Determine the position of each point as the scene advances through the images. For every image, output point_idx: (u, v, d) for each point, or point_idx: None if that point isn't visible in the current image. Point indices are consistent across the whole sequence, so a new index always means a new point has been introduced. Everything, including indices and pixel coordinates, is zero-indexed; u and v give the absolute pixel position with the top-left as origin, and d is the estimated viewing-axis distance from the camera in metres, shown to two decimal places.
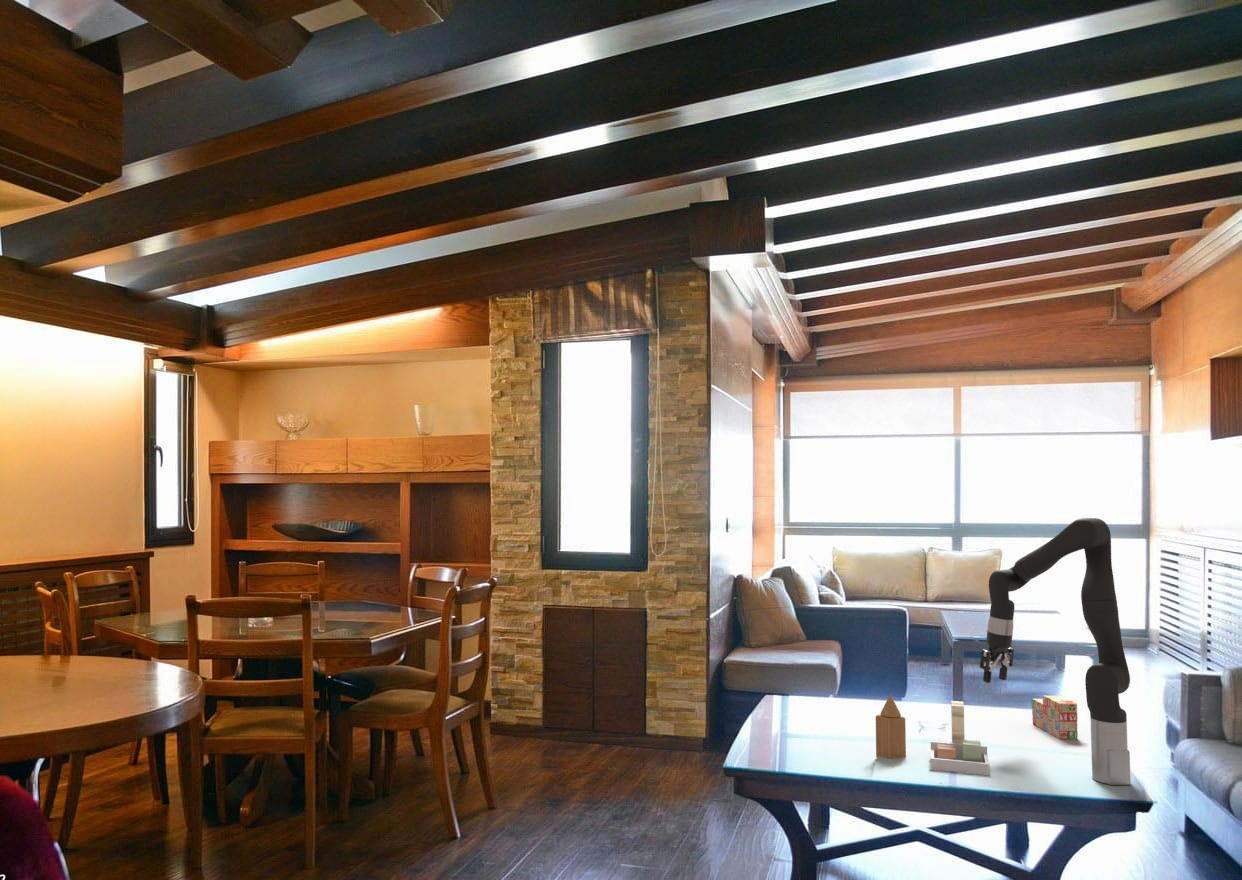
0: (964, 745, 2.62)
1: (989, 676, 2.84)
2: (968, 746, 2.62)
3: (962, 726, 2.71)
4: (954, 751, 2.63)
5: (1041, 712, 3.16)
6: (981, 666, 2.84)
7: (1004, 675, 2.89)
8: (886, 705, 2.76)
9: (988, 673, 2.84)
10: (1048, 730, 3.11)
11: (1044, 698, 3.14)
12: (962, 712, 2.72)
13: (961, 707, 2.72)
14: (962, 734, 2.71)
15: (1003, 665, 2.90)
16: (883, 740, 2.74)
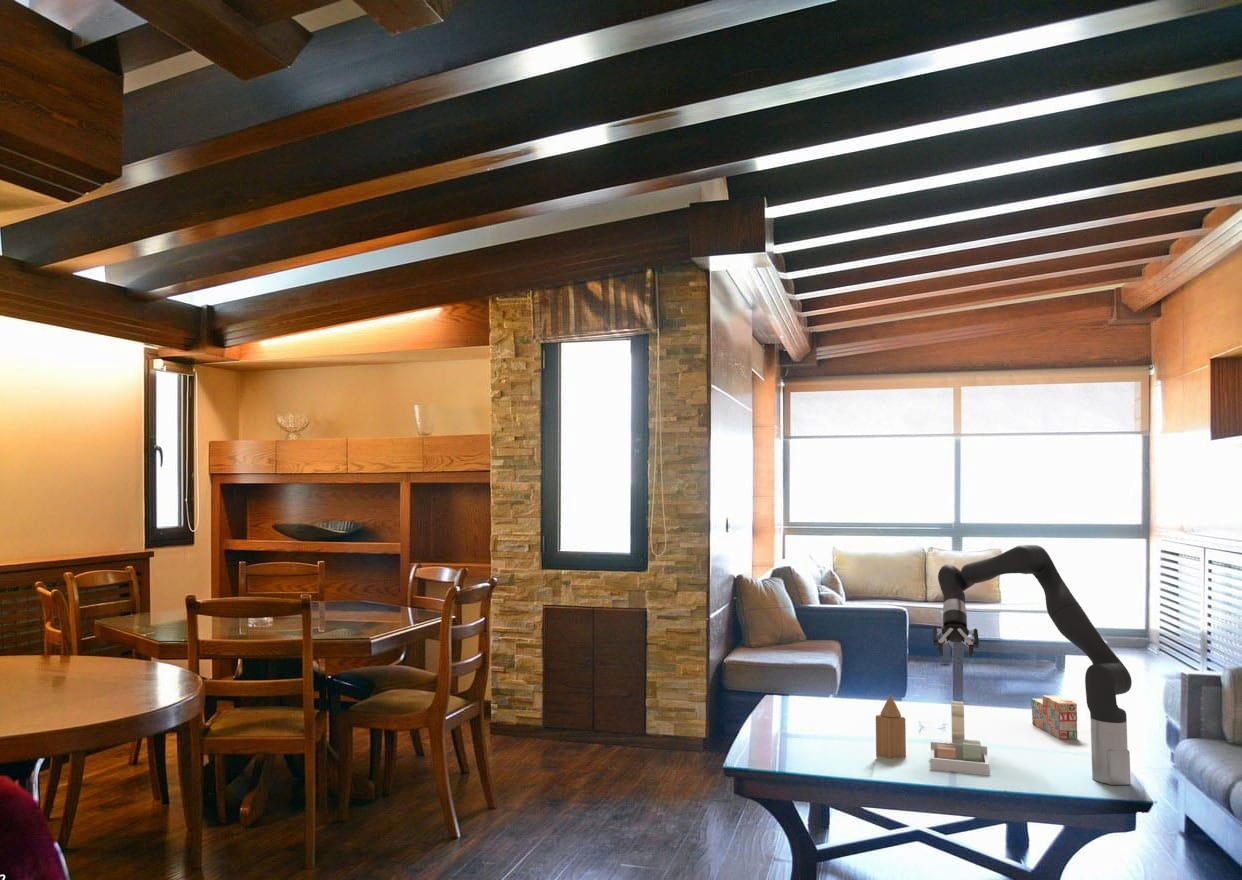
0: (964, 745, 2.62)
1: (940, 647, 2.90)
2: (968, 746, 2.62)
3: (962, 726, 2.71)
4: (954, 751, 2.63)
5: (1041, 712, 3.16)
6: (932, 642, 2.94)
7: None
8: (886, 705, 2.76)
9: (939, 645, 2.91)
10: (1048, 730, 3.11)
11: (1044, 698, 3.14)
12: (962, 712, 2.72)
13: (961, 707, 2.72)
14: (962, 734, 2.71)
15: None
16: (883, 740, 2.74)
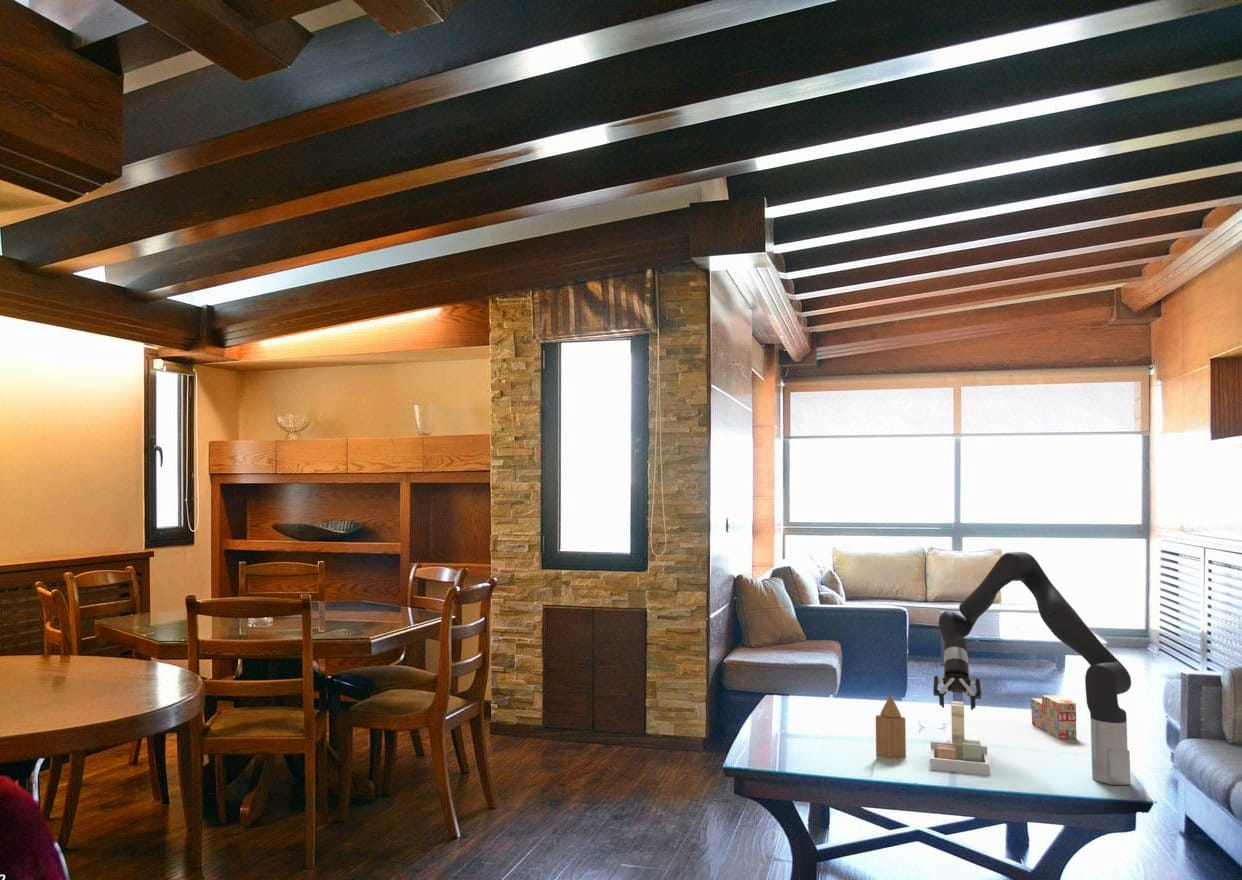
0: (964, 745, 2.62)
1: (941, 698, 2.82)
2: (968, 746, 2.62)
3: (962, 726, 2.71)
4: (954, 751, 2.63)
5: (1040, 711, 3.16)
6: (933, 692, 2.86)
7: (970, 702, 2.79)
8: (886, 705, 2.76)
9: (940, 696, 2.83)
10: (1047, 730, 3.11)
11: (1043, 698, 3.14)
12: (962, 712, 2.72)
13: (961, 707, 2.72)
14: (962, 734, 2.71)
15: None
16: (883, 740, 2.74)
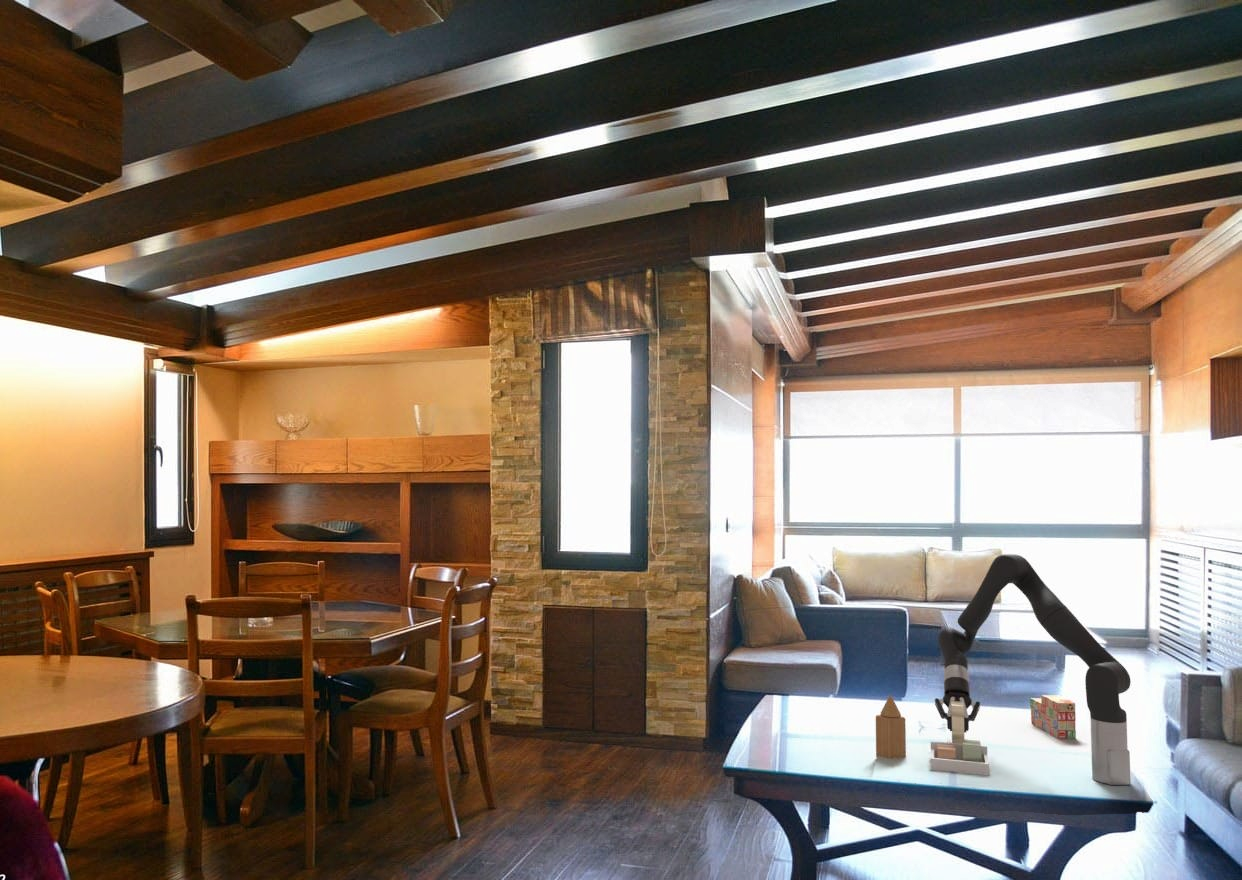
0: (964, 745, 2.62)
1: (949, 722, 2.75)
2: (968, 746, 2.62)
3: (962, 726, 2.71)
4: (954, 751, 2.63)
5: (1040, 711, 3.17)
6: (941, 716, 2.78)
7: None
8: (886, 705, 2.76)
9: (948, 719, 2.76)
10: (1046, 729, 3.11)
11: (1042, 698, 3.14)
12: (962, 712, 2.72)
13: (961, 707, 2.72)
14: (962, 734, 2.71)
15: None
16: (883, 740, 2.74)
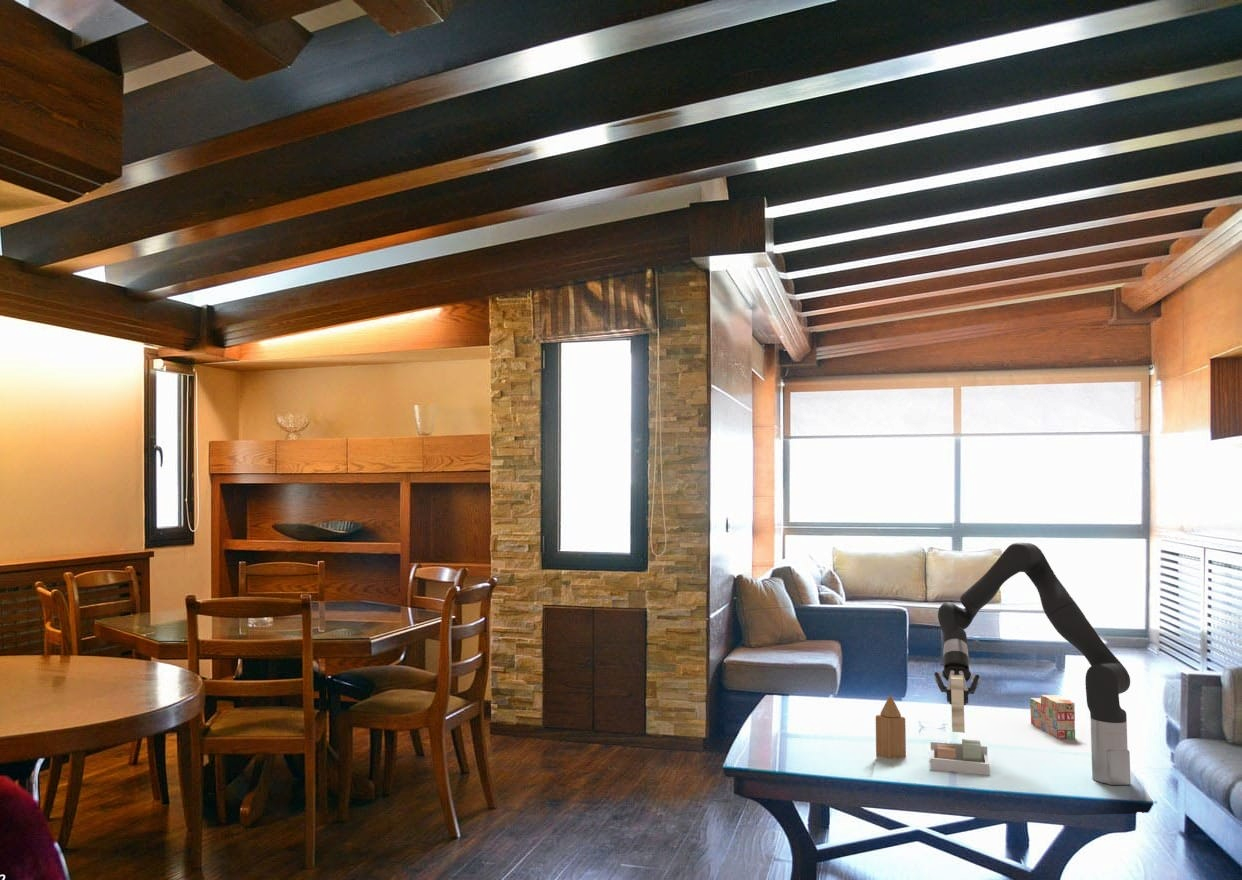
0: (964, 745, 2.62)
1: (949, 695, 2.75)
2: (968, 746, 2.62)
3: (962, 699, 2.72)
4: (954, 751, 2.63)
5: (1039, 711, 3.17)
6: (940, 689, 2.79)
7: None
8: (886, 705, 2.76)
9: (947, 692, 2.76)
10: (1046, 729, 3.12)
11: (1042, 697, 3.15)
12: (961, 685, 2.72)
13: (960, 680, 2.72)
14: (962, 707, 2.72)
15: None
16: (883, 740, 2.74)
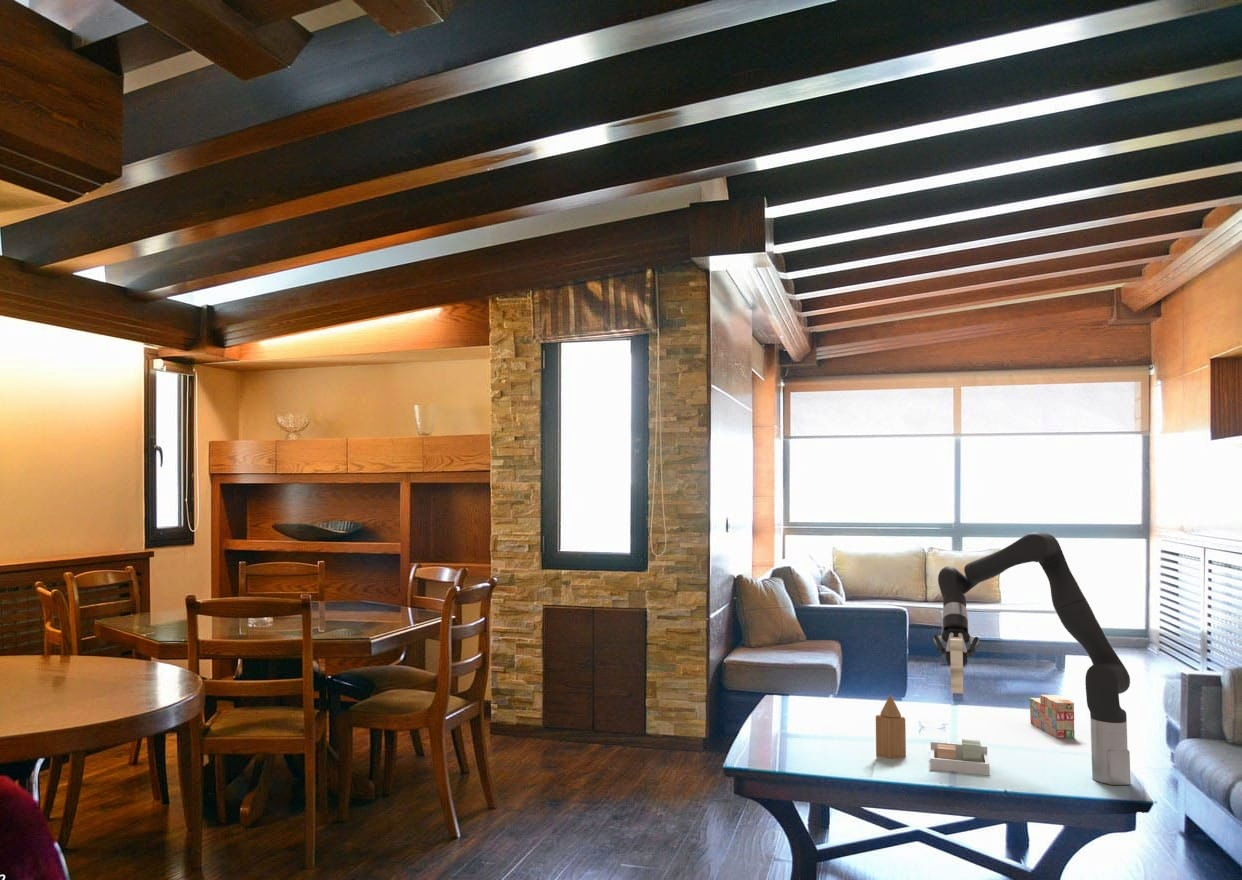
0: (964, 745, 2.62)
1: (948, 656, 2.76)
2: (968, 746, 2.62)
3: (961, 660, 2.73)
4: (954, 751, 2.63)
5: (1039, 711, 3.17)
6: (940, 651, 2.80)
7: None
8: (886, 705, 2.76)
9: (947, 654, 2.77)
10: (1045, 729, 3.12)
11: (1041, 697, 3.15)
12: (961, 646, 2.73)
13: (960, 641, 2.73)
14: (961, 668, 2.73)
15: None
16: (883, 740, 2.74)
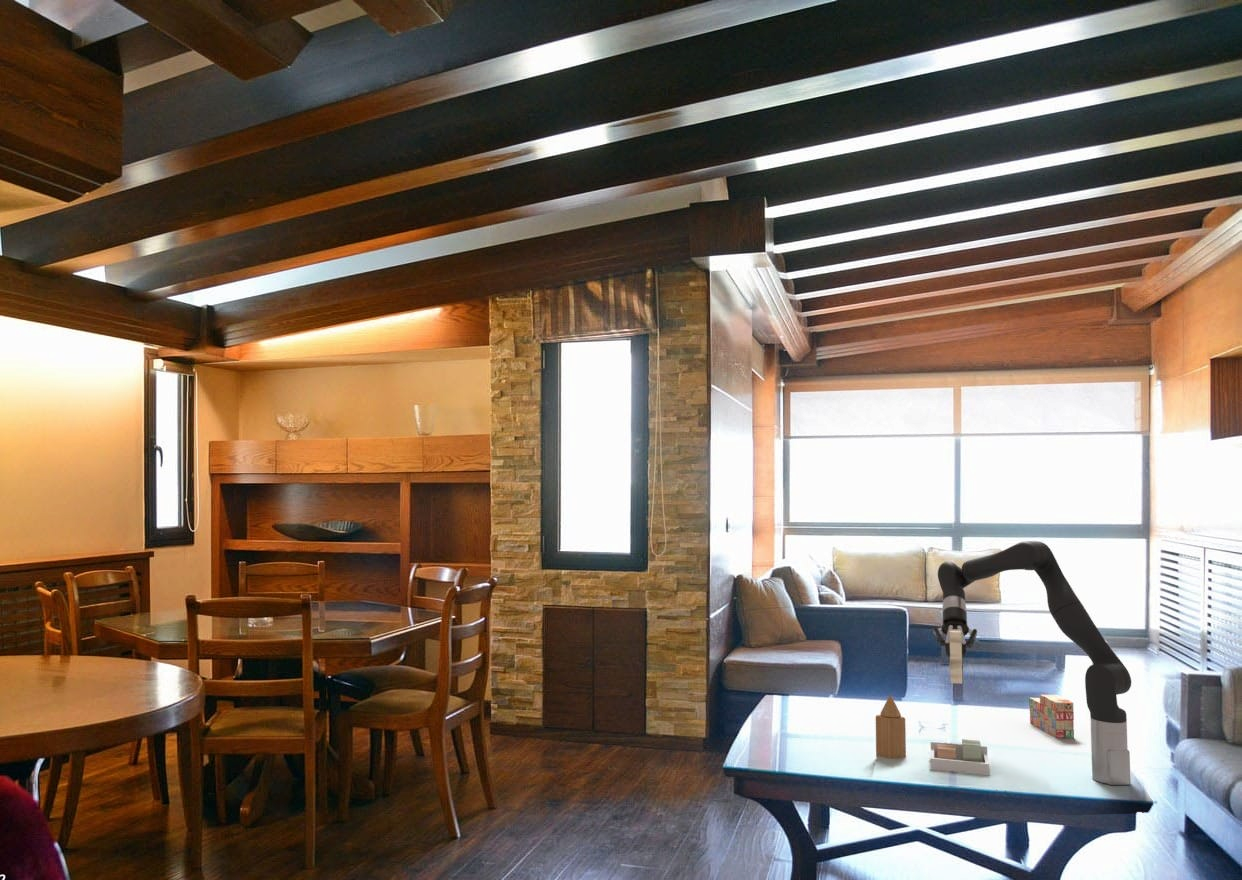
0: (964, 745, 2.62)
1: (947, 648, 2.86)
2: (968, 746, 2.62)
3: (960, 651, 2.82)
4: (954, 751, 2.63)
5: (1038, 711, 3.17)
6: (939, 643, 2.89)
7: None
8: (886, 705, 2.76)
9: (946, 646, 2.87)
10: (1045, 729, 3.12)
11: (1041, 697, 3.15)
12: (960, 638, 2.83)
13: (959, 633, 2.83)
14: (960, 659, 2.82)
15: None
16: (883, 740, 2.74)
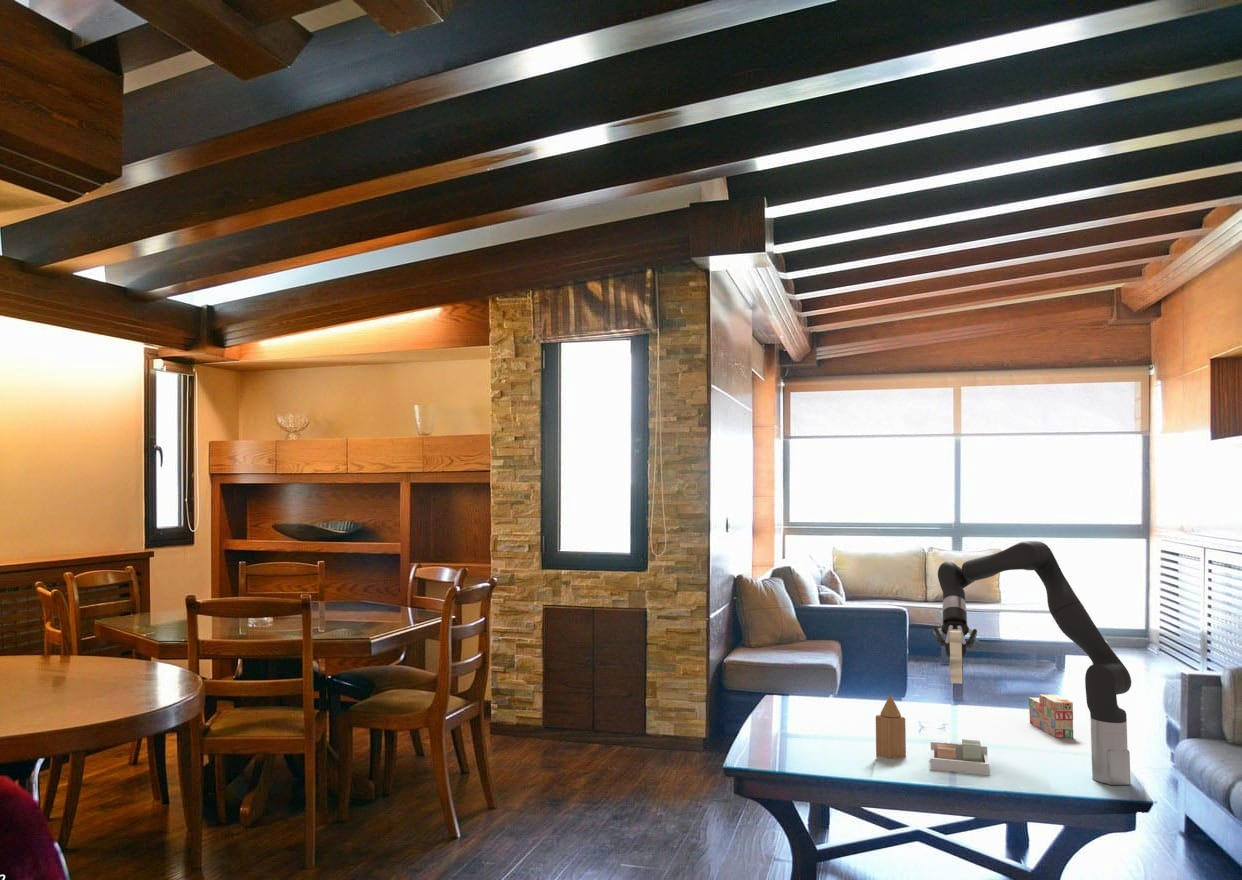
0: (964, 745, 2.62)
1: (947, 648, 2.86)
2: (968, 746, 2.62)
3: (960, 651, 2.82)
4: (954, 751, 2.63)
5: (1038, 711, 3.18)
6: (939, 643, 2.89)
7: None
8: (886, 705, 2.76)
9: (946, 646, 2.87)
10: (1044, 729, 3.12)
11: (1040, 697, 3.15)
12: (960, 638, 2.83)
13: (959, 633, 2.83)
14: (960, 659, 2.82)
15: None
16: (883, 740, 2.74)
